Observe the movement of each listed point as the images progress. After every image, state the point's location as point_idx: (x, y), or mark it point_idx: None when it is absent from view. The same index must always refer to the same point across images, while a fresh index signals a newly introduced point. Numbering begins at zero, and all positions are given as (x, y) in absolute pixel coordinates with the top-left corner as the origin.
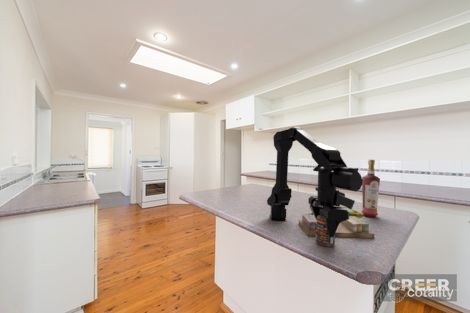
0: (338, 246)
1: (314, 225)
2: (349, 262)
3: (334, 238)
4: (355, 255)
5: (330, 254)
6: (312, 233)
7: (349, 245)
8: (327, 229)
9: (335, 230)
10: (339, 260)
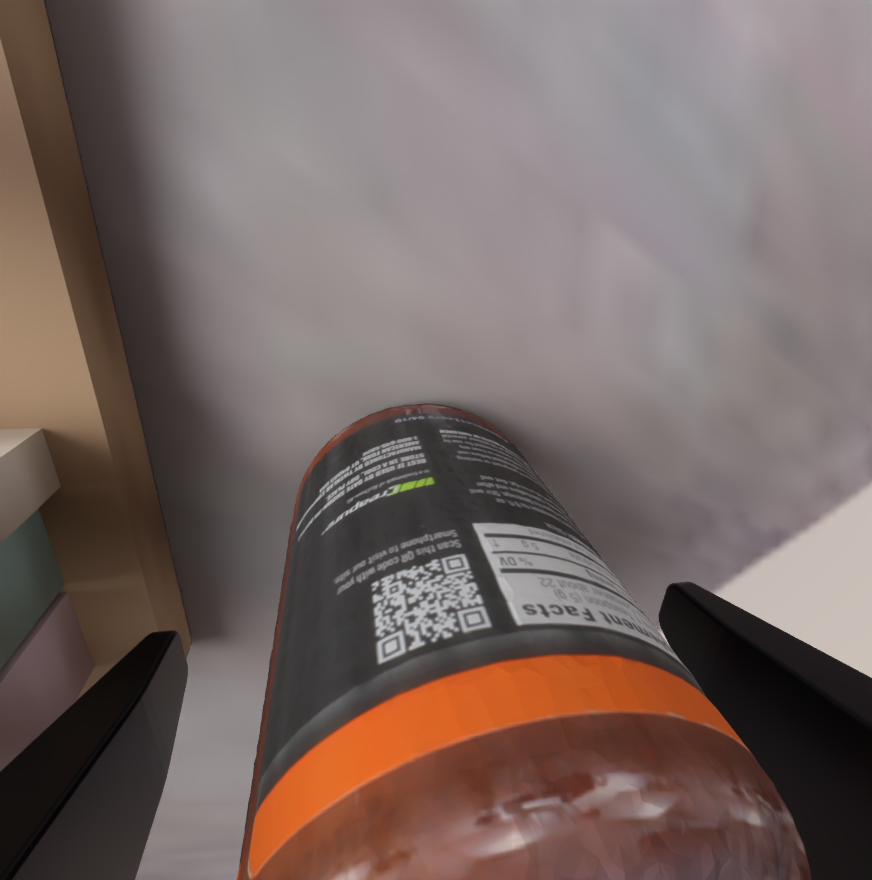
0: (497, 367)
1: (22, 673)
2: (821, 414)
3: (536, 475)
4: (734, 262)
5: (661, 528)
6: (170, 613)
7: (465, 163)
8: (773, 781)
9: (850, 681)
10: (768, 489)
